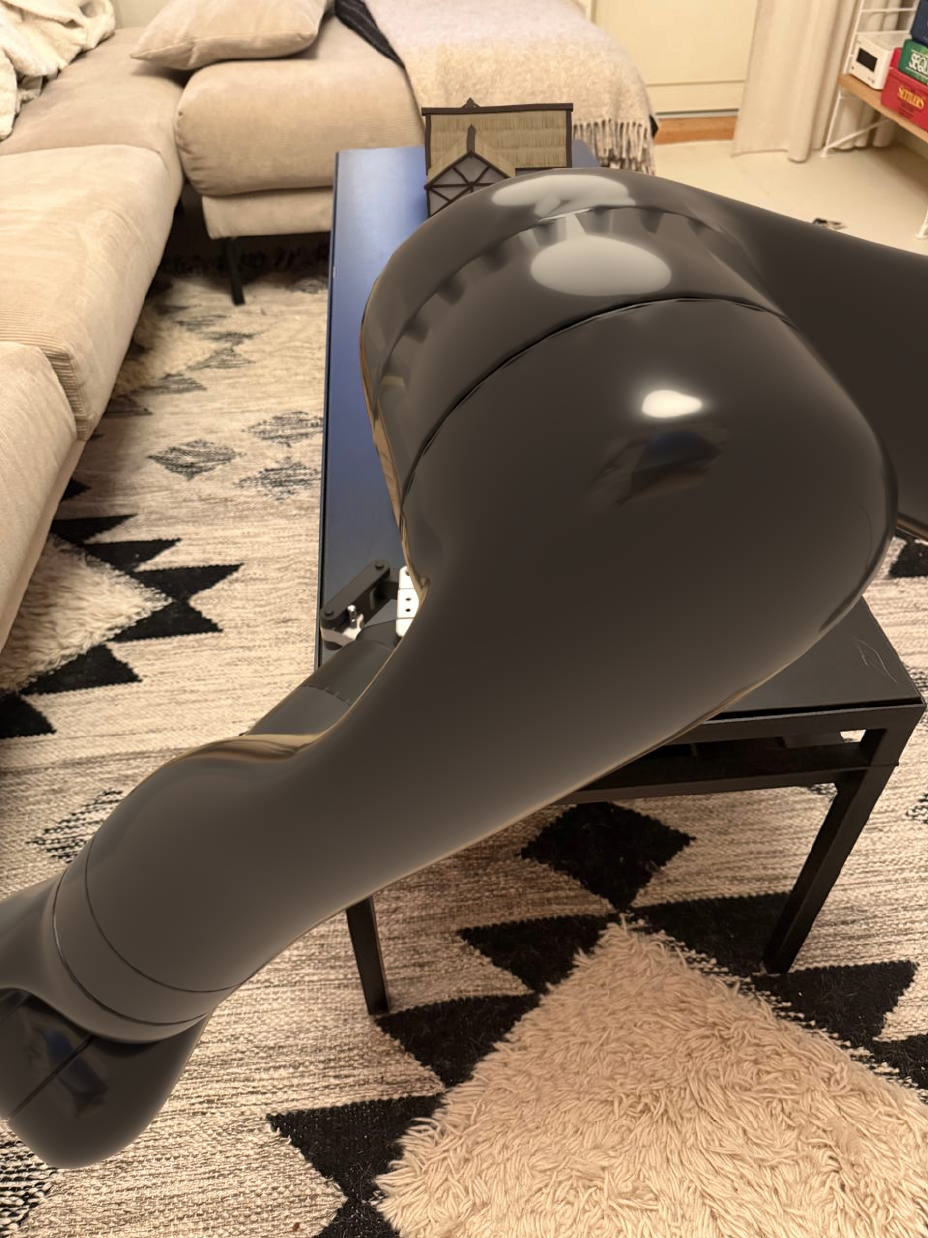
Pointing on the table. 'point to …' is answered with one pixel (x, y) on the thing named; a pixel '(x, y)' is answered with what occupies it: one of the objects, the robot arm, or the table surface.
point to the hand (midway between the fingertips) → (518, 576)
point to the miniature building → (491, 146)
